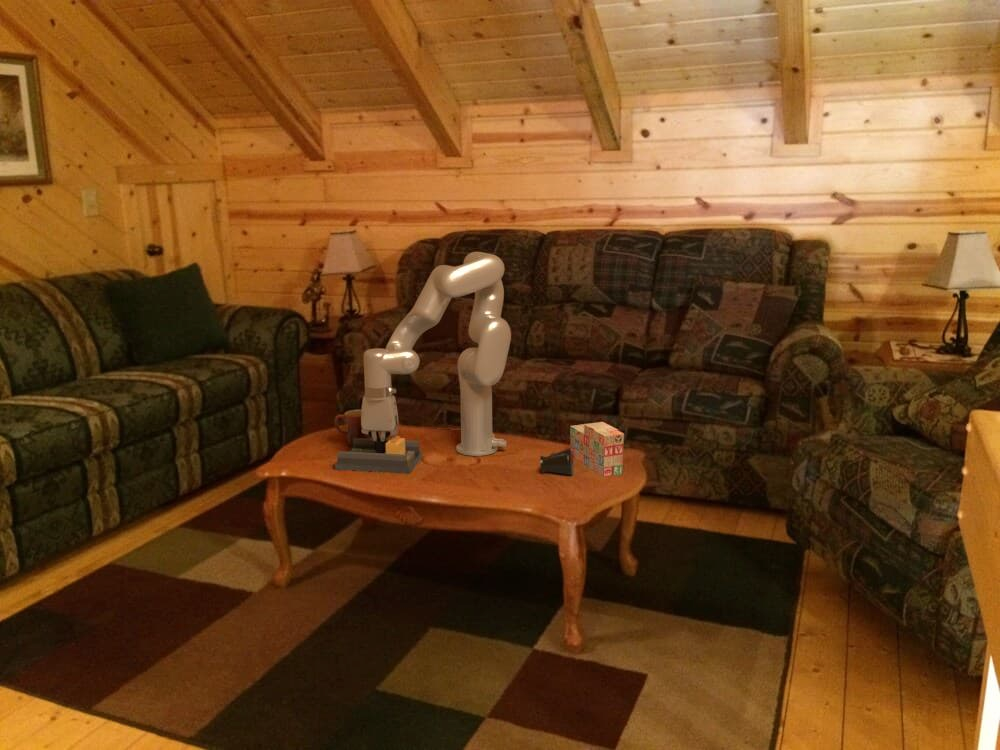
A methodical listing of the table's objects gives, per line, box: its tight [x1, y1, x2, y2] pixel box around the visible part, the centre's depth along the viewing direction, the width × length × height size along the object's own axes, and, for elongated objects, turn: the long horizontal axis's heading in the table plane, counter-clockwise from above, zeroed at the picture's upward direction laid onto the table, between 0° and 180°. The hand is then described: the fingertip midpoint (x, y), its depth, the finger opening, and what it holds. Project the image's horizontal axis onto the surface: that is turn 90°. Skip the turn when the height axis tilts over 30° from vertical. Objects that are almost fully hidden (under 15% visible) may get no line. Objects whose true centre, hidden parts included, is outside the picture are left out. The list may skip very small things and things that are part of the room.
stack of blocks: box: [569, 421, 625, 478], centre depth 245 cm, size 21×6×12 cm, turn 21°
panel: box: [334, 447, 423, 475], centre depth 247 cm, size 22×14×3 cm, turn 80°
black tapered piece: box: [539, 448, 575, 476], centre depth 244 cm, size 8×18×8 cm
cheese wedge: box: [386, 435, 406, 455], centre depth 246 cm, size 4×6×6 cm, turn 170°
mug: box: [334, 408, 372, 447], centre depth 265 cm, size 12×9×10 cm
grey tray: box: [337, 438, 420, 467], centre depth 247 cm, size 20×15×3 cm
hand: (380, 453), depth 247 cm, fingers closed
